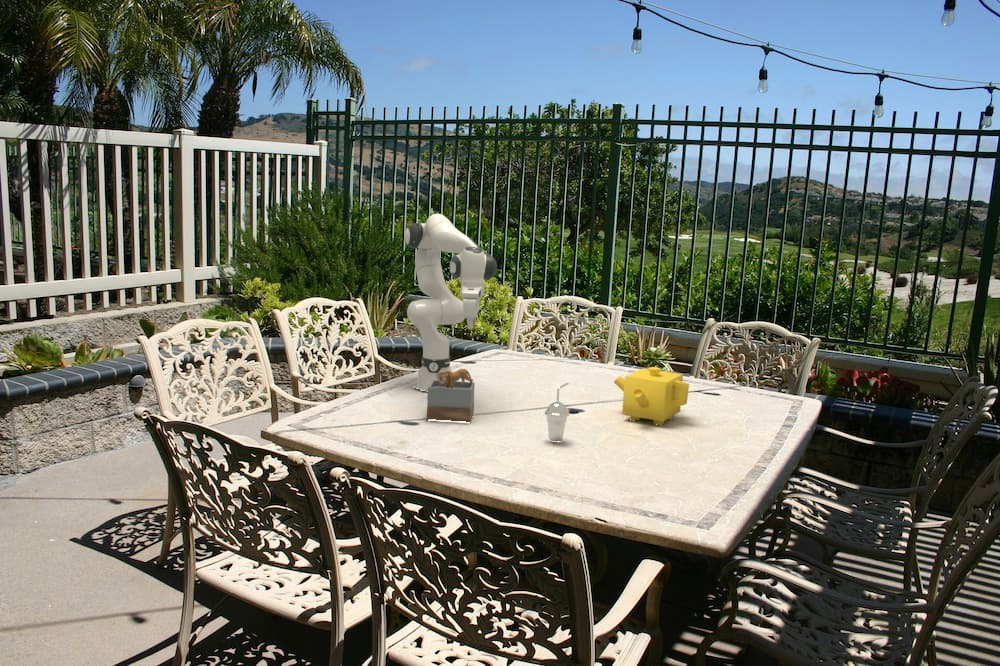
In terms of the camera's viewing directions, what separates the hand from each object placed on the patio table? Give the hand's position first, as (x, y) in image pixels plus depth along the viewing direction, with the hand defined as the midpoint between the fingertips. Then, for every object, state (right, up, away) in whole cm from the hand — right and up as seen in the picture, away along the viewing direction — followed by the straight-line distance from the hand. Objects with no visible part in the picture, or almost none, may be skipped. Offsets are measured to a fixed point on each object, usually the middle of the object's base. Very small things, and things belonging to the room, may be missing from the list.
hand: (471, 326), depth 307 cm
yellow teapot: (+68, -36, +6) cm, 77 cm away
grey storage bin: (-7, -29, -5) cm, 30 cm away
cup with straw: (+30, -40, -28) cm, 57 cm away
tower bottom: (-8, -35, -5) cm, 36 cm away
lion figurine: (-5, -23, -7) cm, 25 cm away
